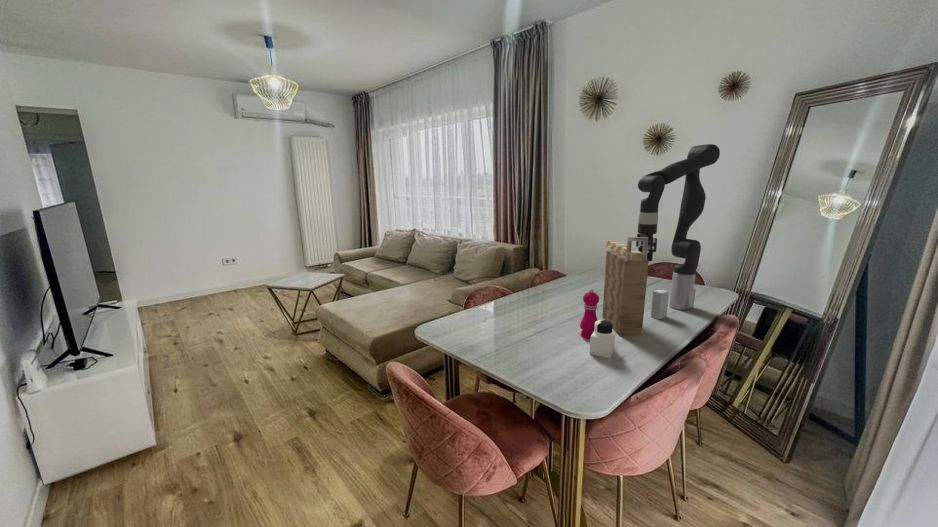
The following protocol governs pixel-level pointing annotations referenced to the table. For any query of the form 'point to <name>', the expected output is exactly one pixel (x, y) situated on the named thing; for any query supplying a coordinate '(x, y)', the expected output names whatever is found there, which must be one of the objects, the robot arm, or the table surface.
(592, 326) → the pepper mill
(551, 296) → the table surface
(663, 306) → the skincare box
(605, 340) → the medicine bottle
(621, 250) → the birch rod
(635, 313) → the brown tall blocky piece
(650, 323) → the table surface
